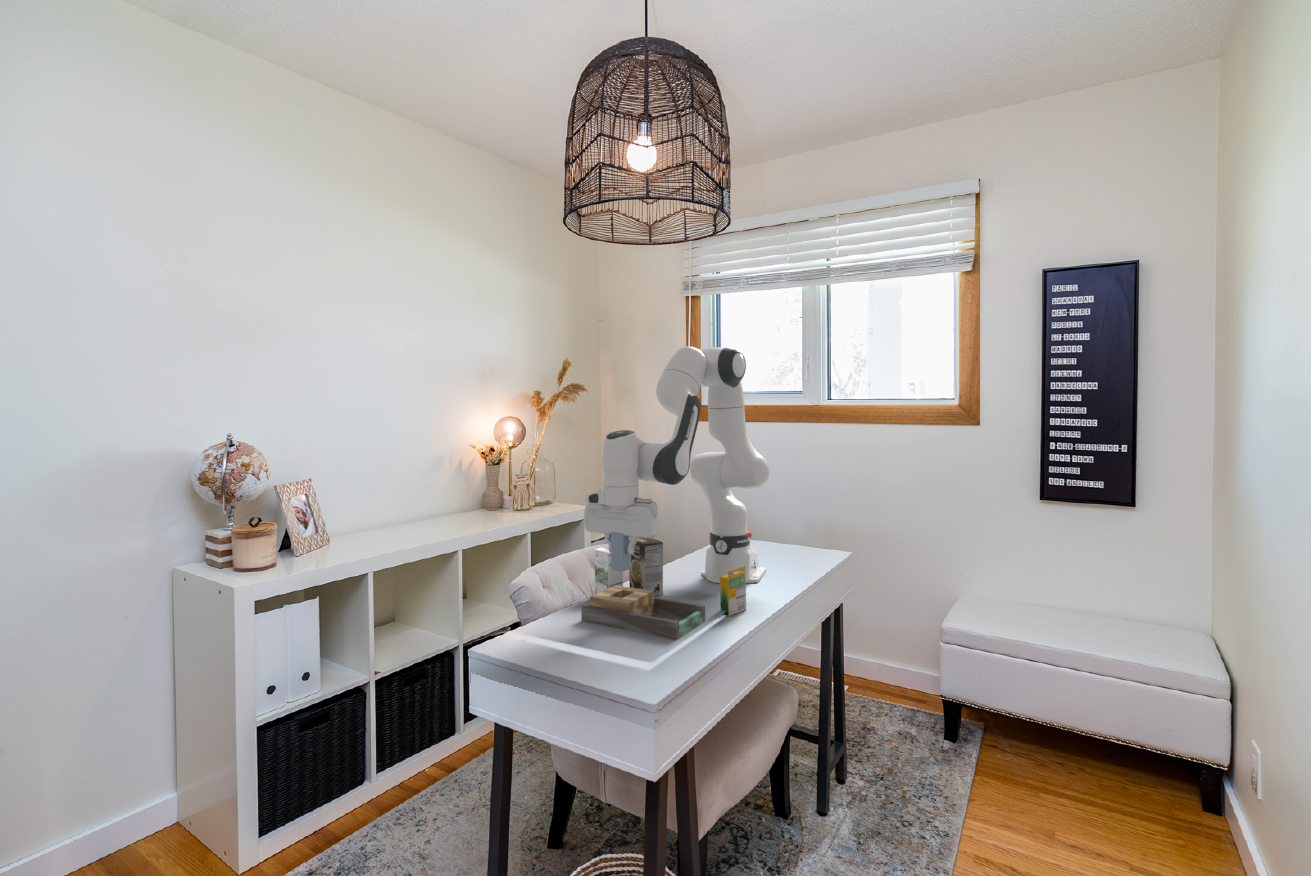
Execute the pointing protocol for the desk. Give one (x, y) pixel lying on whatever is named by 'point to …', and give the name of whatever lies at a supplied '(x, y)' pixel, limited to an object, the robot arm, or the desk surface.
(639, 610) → the slotted wooden block
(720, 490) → the robot arm
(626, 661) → the desk surface
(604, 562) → the syrup box
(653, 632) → the bay
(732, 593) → the crayon box
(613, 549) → the handle peg
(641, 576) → the coffee box
